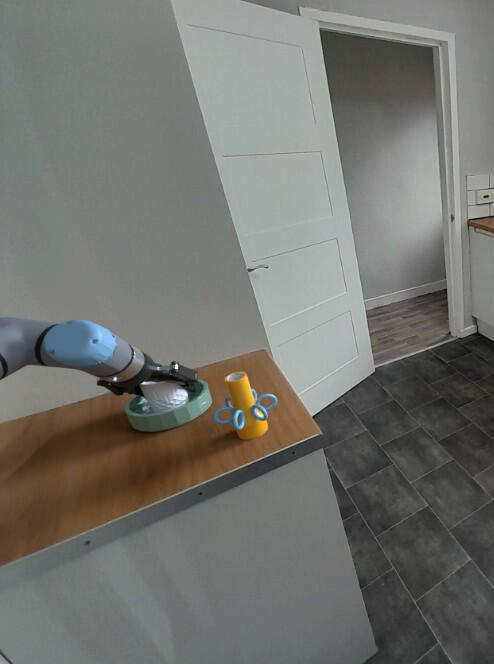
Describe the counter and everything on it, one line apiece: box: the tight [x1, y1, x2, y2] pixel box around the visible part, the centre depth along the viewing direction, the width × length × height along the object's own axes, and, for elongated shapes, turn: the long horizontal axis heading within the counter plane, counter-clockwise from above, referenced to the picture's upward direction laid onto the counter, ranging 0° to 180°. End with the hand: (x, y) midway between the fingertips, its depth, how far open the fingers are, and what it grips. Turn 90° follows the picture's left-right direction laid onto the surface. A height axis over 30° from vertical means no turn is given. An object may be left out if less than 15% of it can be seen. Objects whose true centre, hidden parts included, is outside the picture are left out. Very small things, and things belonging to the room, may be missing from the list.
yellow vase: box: [212, 371, 278, 441], centre depth 90 cm, size 12×10×15 cm
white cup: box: [139, 381, 190, 413], centre depth 97 cm, size 8×8×10 cm
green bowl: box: [123, 378, 213, 433], centre depth 98 cm, size 16×16×5 cm
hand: (173, 390), depth 100 cm, fingers closed on white cup, 8 cm apart
